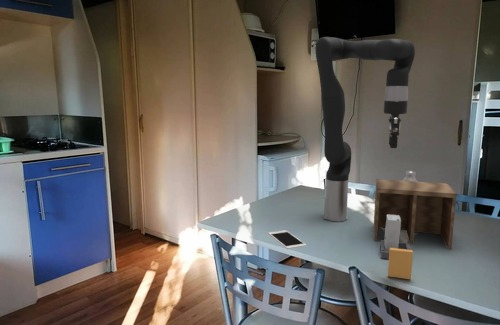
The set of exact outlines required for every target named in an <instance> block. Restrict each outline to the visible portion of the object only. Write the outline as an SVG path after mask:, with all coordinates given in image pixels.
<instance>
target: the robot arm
mask: <svg viewBox="0 0 500 325" xmlns="http://www.w3.org/2000/svg"><path fill="white" fill-rule="evenodd" d="M314 53H315V59H316V64H317V69H318V76H319V84H320V92H321V93H320V97H321V108H322V109H321V110H322V117H323V118H322V120H323V127H324V128H323V129H324V145H323V147H324V149H323V150H324V157H325V159H326V161H327V162H328V164H329V165H328V168H327V171H326V174H325V196H324V207H323V209H324V210H323V219H324V220H327V221H332V222H344V221H347V218H348V217H347V216H348V195H349V194H348V193H349V175H350V172H351V164H352V148H351V146H350V145H349V143H348V142H346V141H344V137H343V124H344V118H345V114H346V100H345V99H346V98H345V92H344V88H343V87H342V85H341V83H340V81H339V79H338V78H337V76H336V74H335V70H334V64H333V62H338V61H340V60H341V61H342V60H345V59H346V60H347V59H358V60H363V61H390V62H391V61H393V62H394V64H393V68H391V69H389V70H388V71H387V72H386V80H385V81H386V83H385V84H386V85H385V90H384V91H385V92H384V101H383V114H386V115H390V116H389V118H388V119H387V120H388V121H387V124H388V127H387V129H388V135H389V136H388V138H389V139H388V145H389V148H390V149H397V148H398V139H399V136H400V131H401V124H402V119H401V117H399V116H400V115H406V114H407V112H408V104H409V102H408V101H409V100H408V99H409V78H410V76H409V75H410V71H411V69H412V66H413V64H414V58H415V55H416V49H415V45H414V44H413V42H412V41H410V40H408V39H407V40H406V39H400V38H387V39H364V40H358V41H357V40H356V41H353V40H352V41H351V40H346V39H343V38H338V37H332V36H331V37H330V36H323V37H320V38H318V39H317V42H316V44H315V52H314Z"/></svg>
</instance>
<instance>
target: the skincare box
mask: <svg viewBox="0 0 500 325" xmlns="http://www.w3.org/2000/svg"><path fill="white" fill-rule="evenodd" d="M400 227H401V218H400V216H399V215H387V218H386V228H384V230H385V231H384V239H383V240H384V249H385V251H388V252H389V249H390V248H397V249H399V248H398V246H399V242H400V236H401V230H400Z"/></svg>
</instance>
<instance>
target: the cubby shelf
mask: <svg viewBox="0 0 500 325" xmlns="http://www.w3.org/2000/svg"><path fill="white" fill-rule="evenodd" d="M374 194H375V197H374V216H373V241H374V242H377V241H378V232H379V231H378V229H385V228H386V218H387V215H399V216H400V218H401V227H400V231H405V232H406V235H407V239H408V243H409V246H413V245H414V239H415V237H414V236H415V232H416V233H426V234H435V235H436V234H438V235H440V236H441V238H442V240H443V242H444V244H445V246H446V248H447V249H448V250H452V245H453V235H454V224H455V216H456V205H457V204H456V203H457V192H456V191H455V190H454V189H453V188H452V187H451V186H450V185H449V184H448V183H445V182H443V183H441V182H431V181H418V182H414V181H402V180H396V179H377V178H376V180H375V193H374Z"/></svg>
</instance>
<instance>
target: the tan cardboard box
mask: <svg viewBox="0 0 500 325" xmlns="http://www.w3.org/2000/svg"><path fill="white" fill-rule="evenodd" d="M379 244H380V245H379V246H380V258H381V259H386V260H388V267H387V276H388V277H391V278H399V279H406V280H407V279H408V280H411V279H412V272H413V271H412V268H413V258H414V251H413V250H412V249H411V245H410V243H409V242H406V241H405V242H404V241H403V242H402V241H399V246H398V249H397V248H390V249H389V252H388V251H385V249H384V239H380V243H379Z"/></svg>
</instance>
